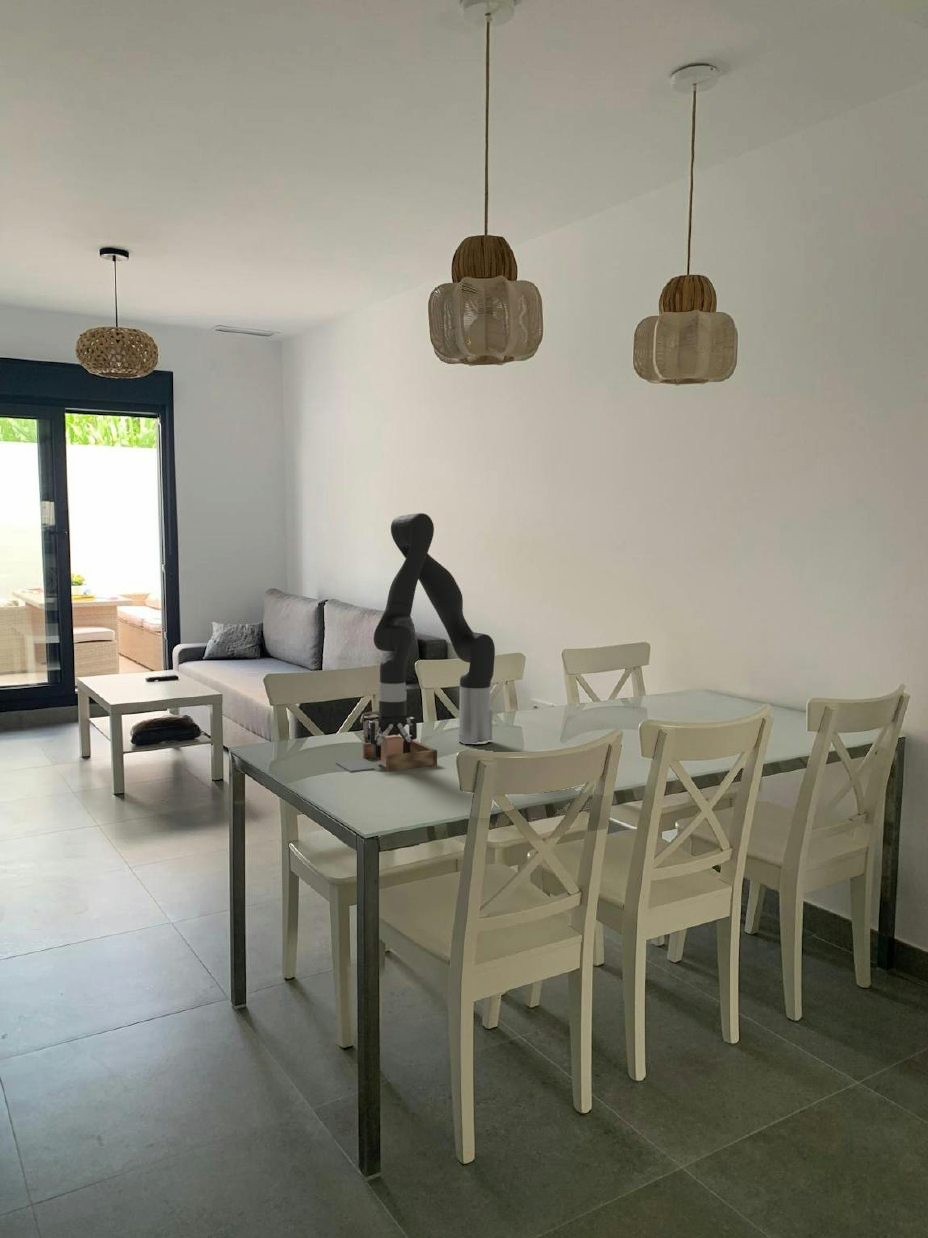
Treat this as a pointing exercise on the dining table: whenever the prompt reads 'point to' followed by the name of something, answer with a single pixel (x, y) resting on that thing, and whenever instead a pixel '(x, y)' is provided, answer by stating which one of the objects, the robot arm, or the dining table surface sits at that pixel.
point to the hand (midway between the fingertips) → (392, 756)
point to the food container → (369, 717)
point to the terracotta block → (391, 746)
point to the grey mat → (355, 765)
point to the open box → (406, 756)
